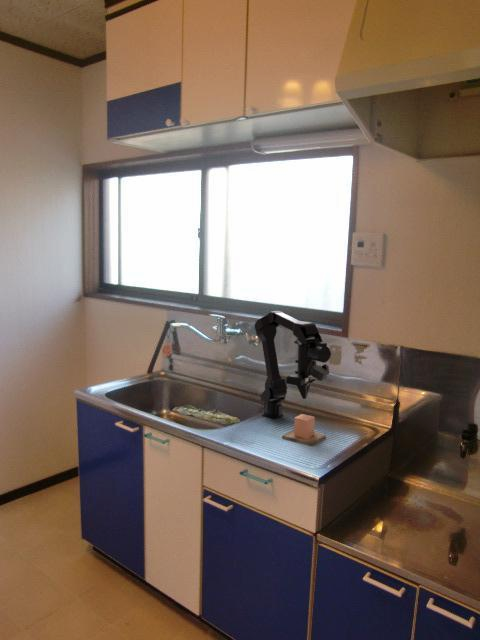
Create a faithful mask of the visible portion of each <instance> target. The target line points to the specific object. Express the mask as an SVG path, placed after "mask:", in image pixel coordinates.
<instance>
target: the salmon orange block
mask: <svg viewBox="0 0 480 640" xmlns="http://www.w3.org/2000/svg"><path fill="white" fill-rule="evenodd" d="M293 421H294V427H293V429H294V436H298V437H302V438H305V439H308V438H309V437H311V436H313V435H314V432H315V416H313V415H307V414H305V413H304V414H303V413H300V414H299V415H297V416H295V417H294V420H293Z"/></svg>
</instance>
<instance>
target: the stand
mask: <svg viewBox="0 0 480 640" xmlns="http://www.w3.org/2000/svg"><path fill="white" fill-rule="evenodd" d="M326 436H327V435H326V434H324V433H321V432H317V431H314V435H313V436H311V437H309V438H308V439H305V438H302V437H298V436H294V428H293V429H291V430H290V431H288V432H286V433H285V434H283V435H282V436H281V437H282V439H285V440H286V441H287V440H288V441H292V442H295V443H299V444H303V445H308V446H312V447H313V446H315V445H316V444H318V443H320V442H321V441H323V440H325V439H326V438H327V437H326Z"/></svg>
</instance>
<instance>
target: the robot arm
mask: <svg viewBox="0 0 480 640" xmlns="http://www.w3.org/2000/svg"><path fill="white" fill-rule="evenodd" d="M279 326H281V327H284V328H285V329H287V330H290V331H291V332H292V335H293V336H294V337H295V338H296V340H294V342H293V343H294V344H297V359H295V360H294V361H295V364H297V368H296V369H297V370H295V372H294V373H292V374H289V375H287V376H286V377H285V378H283V377H282V376H281V375H280V368H279V364H278V356H277V352H276V350H277V349H276V345H275V344H276V343H275V339H276V335H277V334H278V333H277V332H278V331H277V328H278V327H279ZM254 330H255V333H256V336H257V337H258V339H259V341H260V342H261V345H262V350H263V357H264V363H265V369H266V375H267V376H266V380H265V382H264V390H263V391H262V393H260V401H262V402H263V413H262V414H261V416H264V417H268V418H272V419H277V418H279V417H281V416H284V413H283V405H282V401H285V399H286V396H287V393H288V387H287V385H292V386H295V387H297V389H298V391H299V394H300V396H301V398H302V399H303V400H306V399H307V398H308V395H309V391H310V388H311V386H312V384H313V383H315V382H316V381H319V382H323V380H326V379H327V376H328V375H329V374H330V368H329V365H328V364H323V365H322V366H321V365H318V364H317V362H320V363H327V362H328V361H329V360H330V358H331V357H332V352H331V349H330V347H328V344H327V342H323V339H322V336H321V334H320V333H319V330H318V328H317V324H316V323H314V322H312V321H311V322H310V321H302V320H299V319H296V318H294V317H292V316H290V315H289V314H285V313H284V312H283V311H281V310H271V311H270V312H268V313H267V314H266V315H264V316H262V317H260V318H259V319H257V320H256V321H255V324H254Z"/></svg>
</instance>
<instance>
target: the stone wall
mask: <svg viewBox="0 0 480 640" xmlns="http://www.w3.org/2000/svg"><path fill="white" fill-rule="evenodd" d="M172 411H174V412H178V413H179V414H180V415H186V416H188V415H189V416H190V415H192V416H193V417H195V418H196V419H201V420H205V421H209V422H215V423H219V424H222V425H231V424H237V423H239V422H240V421H241V420H240V419H239V418H238V417H236V416H231V415H229V414H227V413H223V412H221V411H219V409H211V410H204V409H202V408H198V409H197V408H196V407H195V406H193V405H190V404H185V405H183V406H176V407H174V408H173V409H172Z"/></svg>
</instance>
